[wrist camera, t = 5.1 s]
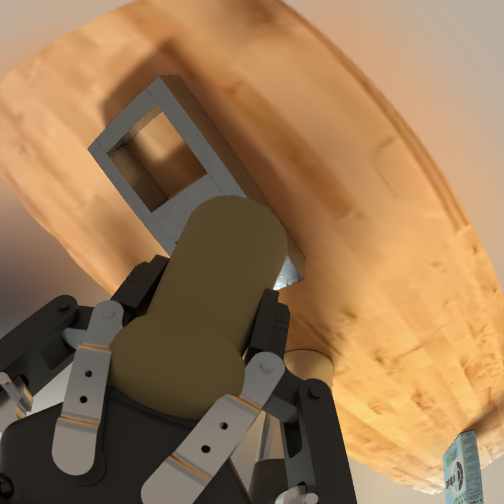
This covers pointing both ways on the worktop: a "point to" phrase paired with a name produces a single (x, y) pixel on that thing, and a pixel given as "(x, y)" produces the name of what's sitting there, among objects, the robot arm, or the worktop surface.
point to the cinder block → (196, 191)
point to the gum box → (463, 471)
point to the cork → (202, 310)
